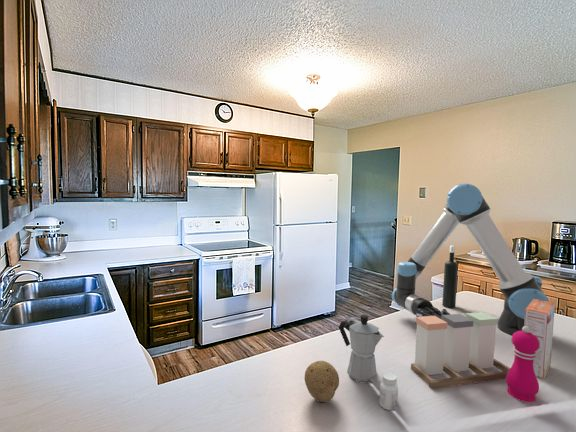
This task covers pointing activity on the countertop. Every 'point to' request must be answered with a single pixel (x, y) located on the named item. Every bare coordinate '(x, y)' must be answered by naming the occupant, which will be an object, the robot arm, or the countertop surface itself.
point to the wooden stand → (462, 380)
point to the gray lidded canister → (457, 341)
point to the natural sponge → (321, 380)
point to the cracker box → (541, 332)
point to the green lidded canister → (482, 339)
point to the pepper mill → (523, 366)
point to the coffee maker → (361, 348)
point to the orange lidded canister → (430, 344)
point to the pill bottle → (388, 391)
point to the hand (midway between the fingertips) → (463, 331)
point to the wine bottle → (450, 281)
